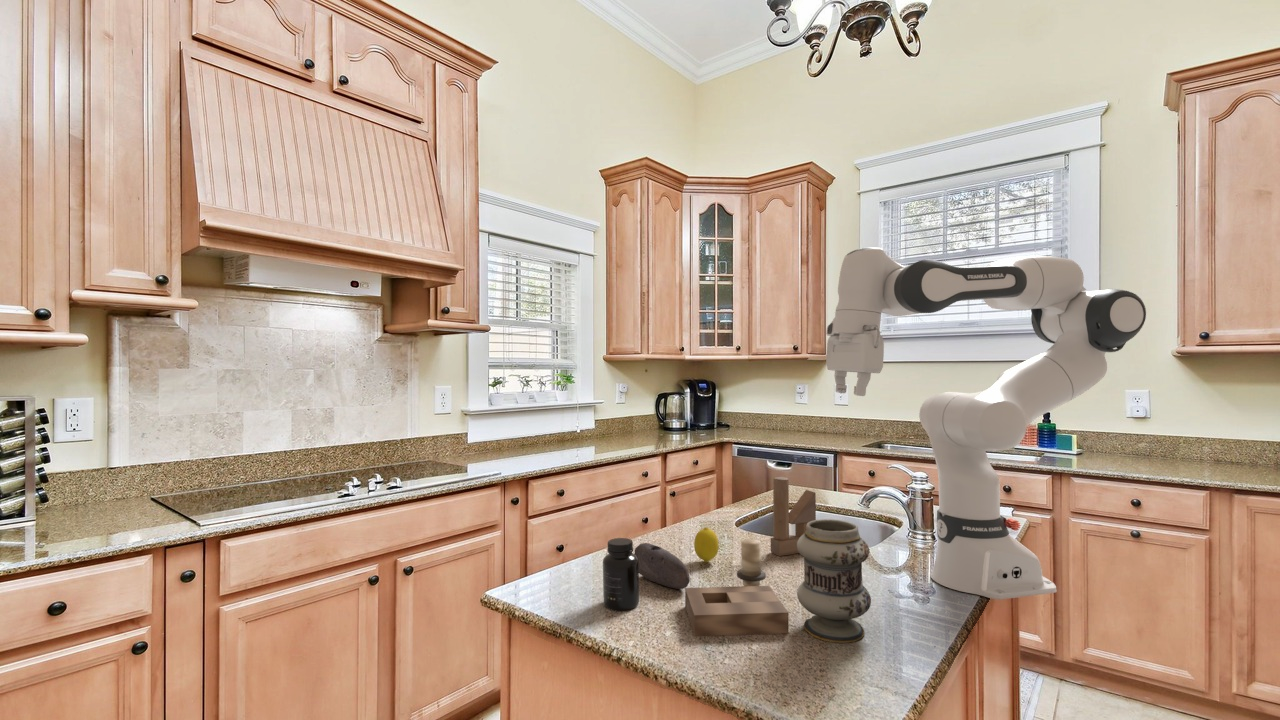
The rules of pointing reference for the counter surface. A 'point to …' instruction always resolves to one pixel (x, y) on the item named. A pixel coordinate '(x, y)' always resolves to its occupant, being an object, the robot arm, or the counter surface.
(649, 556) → the perforated stone tool
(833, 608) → the apothecary jar
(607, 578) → the supplement bottle
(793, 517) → the wooden block structure
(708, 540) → the lemon
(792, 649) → the counter surface
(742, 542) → the maple peg
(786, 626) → the walnut board
